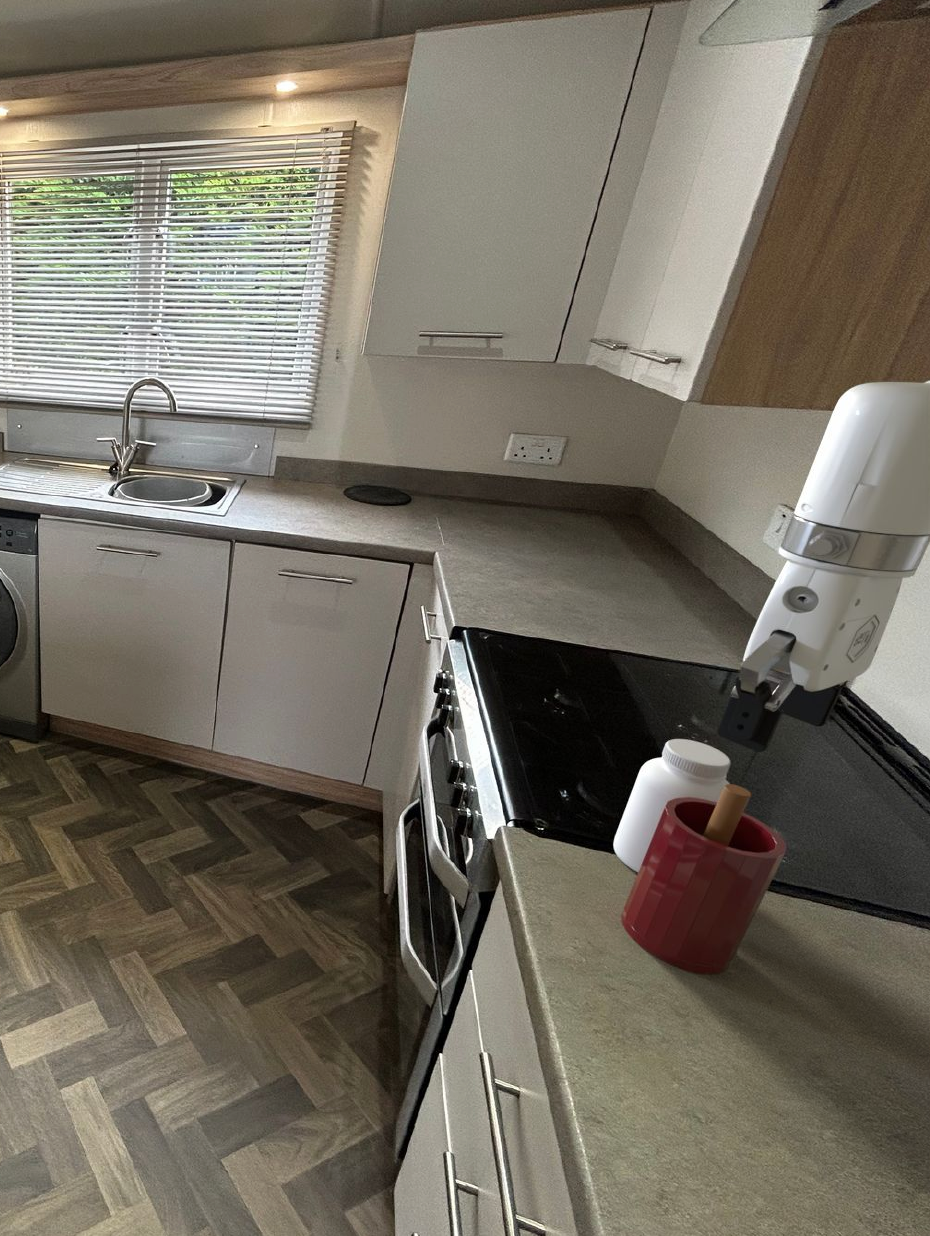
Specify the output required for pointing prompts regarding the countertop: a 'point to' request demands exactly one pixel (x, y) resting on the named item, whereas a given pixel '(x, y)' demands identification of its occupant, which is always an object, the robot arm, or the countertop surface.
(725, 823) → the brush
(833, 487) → the robot arm
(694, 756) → the pill bottle
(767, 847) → the red faceted pen holder
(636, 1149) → the countertop surface
